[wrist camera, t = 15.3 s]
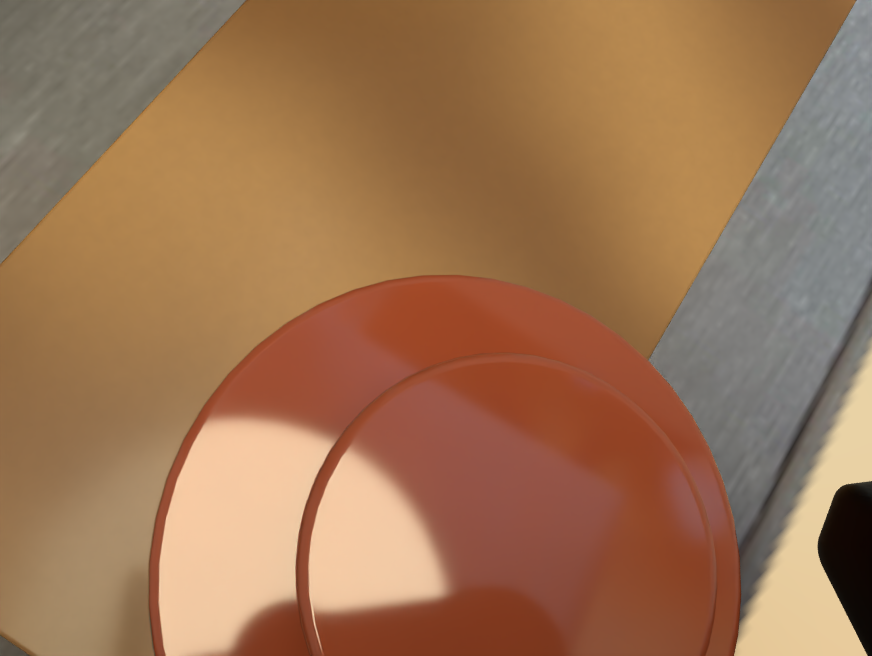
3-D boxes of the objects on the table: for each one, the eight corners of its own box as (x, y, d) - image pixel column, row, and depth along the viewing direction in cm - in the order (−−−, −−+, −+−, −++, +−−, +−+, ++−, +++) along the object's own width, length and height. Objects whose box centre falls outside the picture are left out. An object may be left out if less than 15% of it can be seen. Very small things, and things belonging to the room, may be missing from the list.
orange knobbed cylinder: (468, 731, 13) (843, 1130, 4) (190, 661, 12) (-62, 933, 4) (529, 456, 14) (910, 309, 5) (279, 384, 13) (253, 98, 5)
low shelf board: (345, 854, 13) (348, 880, 12) (-175, 493, 13) (-213, 488, 12) (839, 11, 19) (867, -17, 18) (485, -229, 19) (495, -270, 18)
